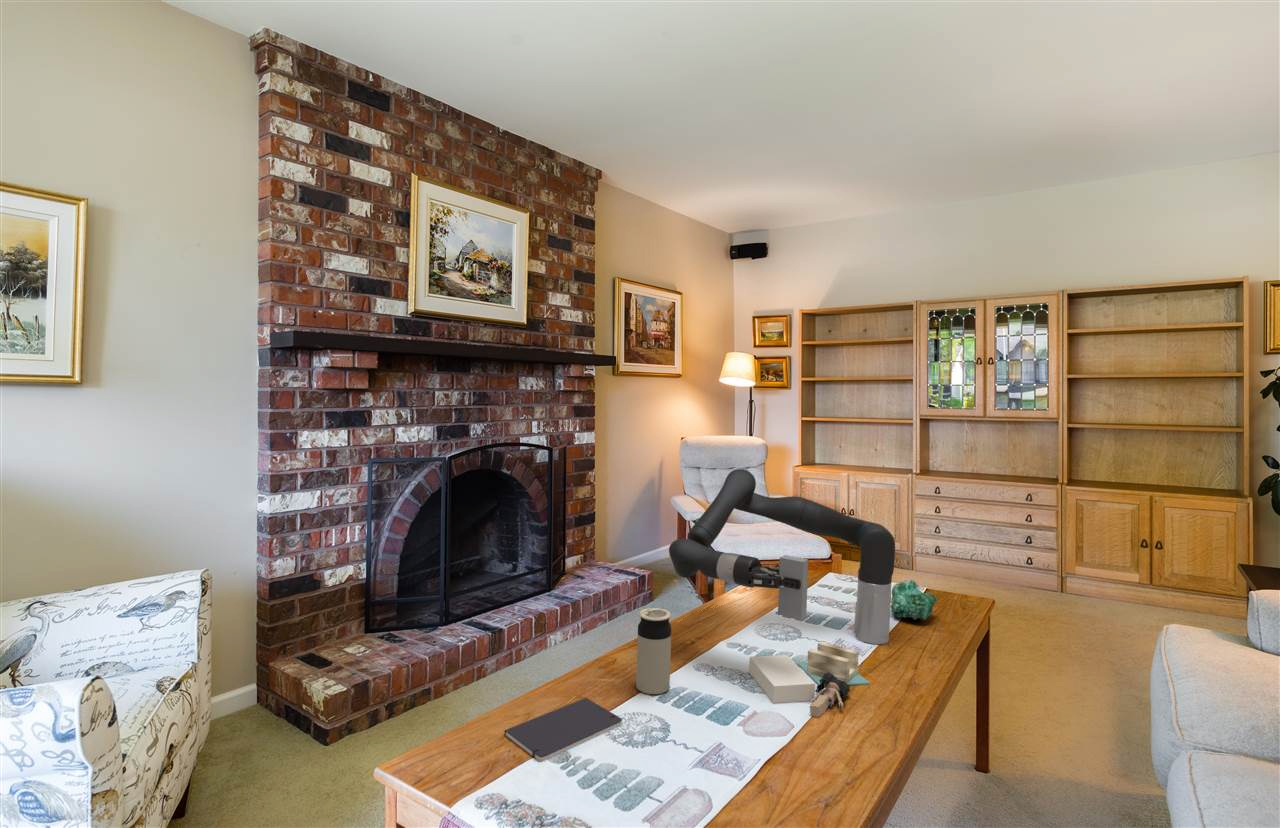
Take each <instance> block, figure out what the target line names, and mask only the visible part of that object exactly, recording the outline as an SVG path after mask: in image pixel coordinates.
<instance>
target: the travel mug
mask: <svg viewBox="0 0 1280 828" xmlns="http://www.w3.org/2000/svg"><path fill="white" fill-rule="evenodd" d="M671 614H672V613H671V612H670V611H668V610H667V609H664V608H659V607H650V608H644V609H641V610H640V611H639V614H638V616H640V617H639V618H640V621H639V623H638V625H637V642H636V643H637V647H636V674H635V675H636V676H635V677H636V679H635V682H636V683H635V687H636V688H637V690H638V691H640V692H642V693H644V694H647V695H661V694H663V693H666V692H667V691H669V690H670V685H671V684H670V682H671V649H672V626H671V623H670V618H671V616H672V615H671Z"/></svg>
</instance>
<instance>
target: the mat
mask: <svg viewBox="0 0 1280 828" xmlns="http://www.w3.org/2000/svg"><path fill="white" fill-rule="evenodd" d="M807 664H808V661H807V662H797V666H798V667H799V668H800V669H801V670H802V671H803V672H804V673H805V674H806V675H807V676H808V677H809V678H810V679H811V680H812V681H813V682H814V683H815V684H816V685H817V686H818V685H820V681H819V680H820V679H822V677H819V676H816V675H813V674H809V673H807ZM821 682H822V681H821ZM847 685H848V686H850V687H851V686H863V685H865V686H867V685H871V683H870V682H869V681H868V680H867V679H866V678H865V677H863V676H862V675H861V674H860V673H859V672H858V673H857V674H856V675H855V676H854V677H853V678H852V679H851V680H850V681H849V682H848V683H847Z"/></svg>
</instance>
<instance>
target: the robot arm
mask: <svg viewBox="0 0 1280 828" xmlns="http://www.w3.org/2000/svg"><path fill="white" fill-rule="evenodd" d="M756 481H757V480H756V478H755V476H754V475H753V473H751V472H750V471H749V470H747V469H743V468H738V469H734V470H732V471H730V472H729V473H728V474H727V476H726V478H725V481H724V483H723V485H722V487H721V489H720V490H719V492H718V494H716V497H715V498H714V499H713V501H712V502H711V503H710V504H709V506H708V507H707V509H705V511H704V512H703V514H701V516H700V517H699V518H698V520H696V522H695V523H694V525H692V527H691V529H690V530H689V531H688V533H687V538H679V539H675V540H674V541H673V542H671V544H670V545H669V548H668V553H669V557H670V560H671V562H672V565H673V568H674V571H675V573H676V574H677V575H678V576H679V577H681V578H687V579H688V578H691V577H692V576H694V575H697V573H698V572H699V571H700V573H701V574H702V575H704V576H705V577H707V578H711V579H716V580H721V581H724V582H726V583H729V584H733V585H737V586H738V585H739V586H742V587H745V588H746V587H747V588H750V589H752V588H767V589H778V590H779V587H782V588H783V587H789V588H793V589H800V586H801V581H800V580H797V579H793V578H788V577H784V576H780V575H779V566H780V564H775V565H774V567H773V566H771V565H764V566H763V565H762V563H761V561H760V559H759V558H757V557H755V556H749V555H744V554H739V553H733V552H725V551H724V552H723V551H719V550H713V549H711V548H710V547H711V545H712V544H714V541H715V540H716V539H717V537H718V536H719V535H720V533H721V531H722V529H723V528H724V527H725V525H726V523H727V522H728V520H729V517H730V516H731V514H733V512H734V510H738V511H742V512H745V513H749V514H752V515H757V516H760V517H763V518H767V519H770V520H773V521H776V522H778V523H782V524H785V525H787V526H791V527H793V528H795V529H797V530H800V531H803V532H806V533H809V534H813V535H817V536H822V537H830V538H835V539H839V540H842V541H845V542H847V543H849V544H852V545H853V546H856V547H858V548H860V560H859V562H860V563H859V568H858V571H857V591H856V593H857V594H856V601H855V610H854V611H855V613H854V634H855V635H854V636H855V638H856V639H857V640H858V641H861V642H864V643H867V644H871V645H873V644H874V645H885V644H887V643H889V640H890V623H891V622H890V621H891V620H890V618H891V605H892V603H891V601H892V581H893V580H892V578H893V575H894V570H895V556H896V542H895V538H894V536H893V534H892V533H891V531H889V530H888V528H886V527H885V526H884V525H882V524H880V523H877V522H872V521H867V520H864V519H859V518H856V517H852V516H849V515H846V514H844V513H841V512H839V511H837V510H835V509H833V508H830V507H828V506H826V505H823V504H821V503H818V502H815V501H814V500H810V499H808V498H805V497H801V496H781V497H769V496H766V495H762V494H758V493H757V492H755V491H756V486H757V482H756Z"/></svg>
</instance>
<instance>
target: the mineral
mask: <svg viewBox="0 0 1280 828" xmlns="http://www.w3.org/2000/svg"><path fill="white" fill-rule="evenodd" d="M937 601H938V600H937V597H936V596H935V595H933V594H931V593H930V592H926V593H923V592H922V591H921V590H920V589H919V584H918V583H917V582H916V581H915V580H914V579H910V580H904V581H901V582H899V583H896V584H894V586H893V587H891V604H890V612H891V613H892V614H894V615H895V616H897V617H898V618H904V619H905V618H912V619H913V620H915V621H916V620H917V619H920V620H919V621H920V622H923V621H927V618H929V617H930V616H931V615H932V613H933V607H934V606H935V604H936V603H937Z"/></svg>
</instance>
